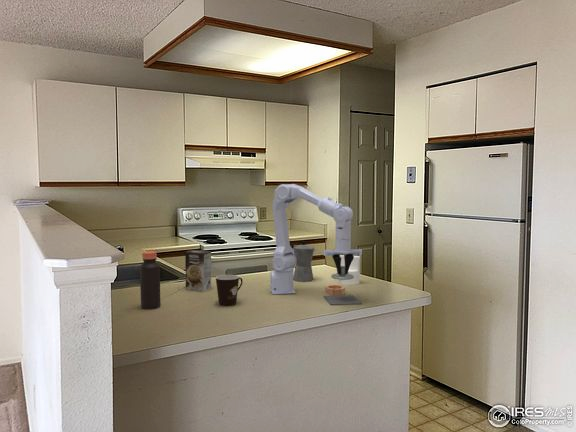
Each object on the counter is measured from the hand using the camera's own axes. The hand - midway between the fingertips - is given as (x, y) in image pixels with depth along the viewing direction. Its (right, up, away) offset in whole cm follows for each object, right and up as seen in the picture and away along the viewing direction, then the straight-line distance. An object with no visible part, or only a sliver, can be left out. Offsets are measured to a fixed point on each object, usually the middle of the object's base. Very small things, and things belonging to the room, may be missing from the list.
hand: (342, 274), depth 174 cm
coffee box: (-58, -9, +17) cm, 61 cm away
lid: (0, -1, 0) cm, 1 cm away
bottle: (-70, -11, -9) cm, 72 cm away
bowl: (-2, -9, +12) cm, 15 cm away
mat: (0, -10, +1) cm, 10 cm away
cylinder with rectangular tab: (+7, -8, +30) cm, 32 cm away
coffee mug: (-42, -11, -3) cm, 43 cm away
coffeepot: (-14, -7, +36) cm, 39 cm away
